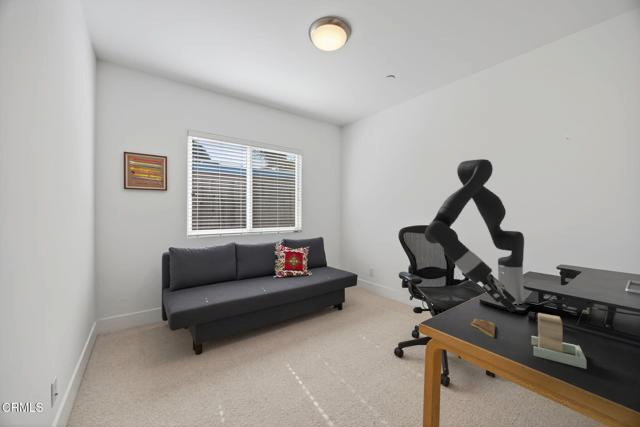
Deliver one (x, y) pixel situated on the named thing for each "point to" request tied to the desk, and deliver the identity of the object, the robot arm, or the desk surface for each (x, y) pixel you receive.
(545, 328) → the oak block
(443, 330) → the desk surface
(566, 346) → the tray
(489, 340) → the desk surface
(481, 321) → the shard
